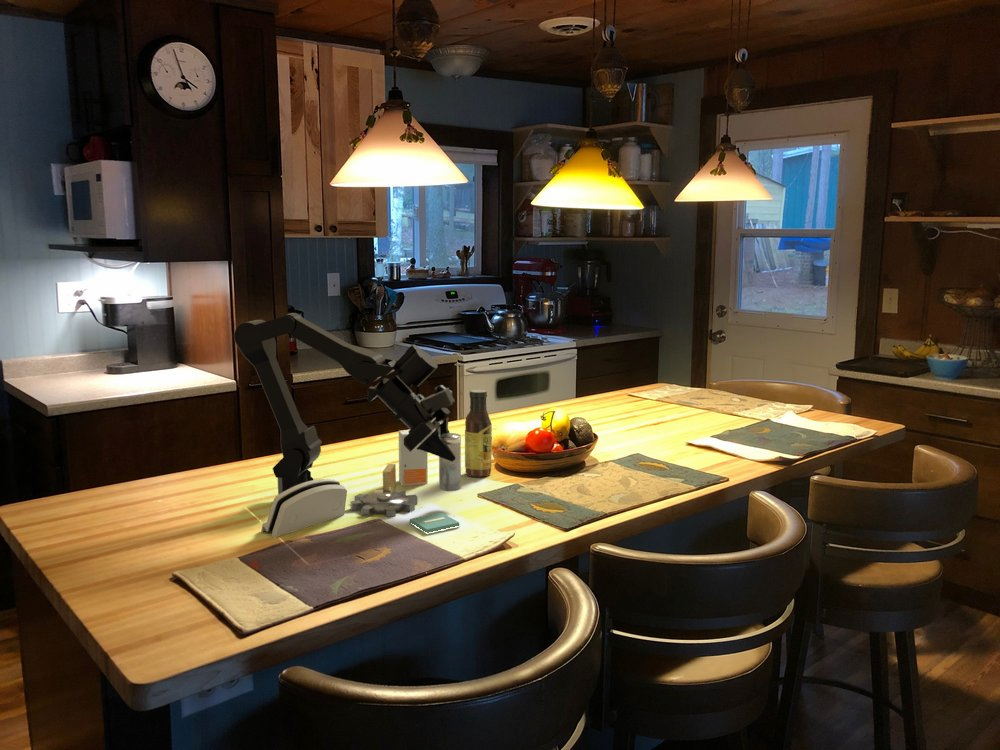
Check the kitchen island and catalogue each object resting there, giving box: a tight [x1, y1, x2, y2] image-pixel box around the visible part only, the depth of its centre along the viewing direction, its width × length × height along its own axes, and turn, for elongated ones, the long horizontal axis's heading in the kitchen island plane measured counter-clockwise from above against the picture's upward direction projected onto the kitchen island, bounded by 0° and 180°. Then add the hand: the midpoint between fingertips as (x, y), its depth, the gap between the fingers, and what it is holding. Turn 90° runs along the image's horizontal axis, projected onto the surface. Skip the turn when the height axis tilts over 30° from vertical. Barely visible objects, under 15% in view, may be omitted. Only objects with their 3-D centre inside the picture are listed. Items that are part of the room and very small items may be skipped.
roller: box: [438, 432, 462, 492], centre depth 172 cm, size 4×4×11 cm
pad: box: [409, 512, 460, 533], centre depth 162 cm, size 7×7×1 cm
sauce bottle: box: [464, 389, 493, 478], centre depth 196 cm, size 7×6×20 cm
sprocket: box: [349, 463, 418, 518], centre depth 174 cm, size 16×13×6 cm
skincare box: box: [398, 429, 429, 487], centre depth 190 cm, size 6×4×12 cm
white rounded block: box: [260, 478, 348, 539], centre depth 163 cm, size 17×5×10 cm, turn 140°
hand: (456, 456), depth 171 cm, fingers closed on roller, 4 cm apart
